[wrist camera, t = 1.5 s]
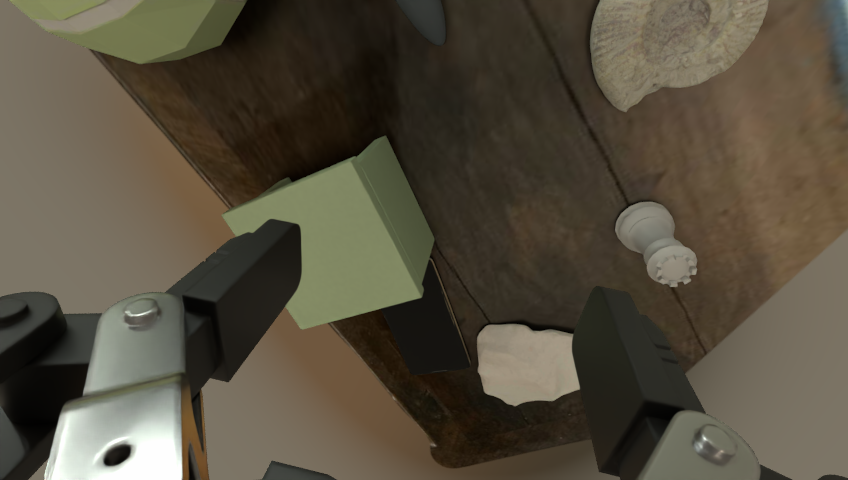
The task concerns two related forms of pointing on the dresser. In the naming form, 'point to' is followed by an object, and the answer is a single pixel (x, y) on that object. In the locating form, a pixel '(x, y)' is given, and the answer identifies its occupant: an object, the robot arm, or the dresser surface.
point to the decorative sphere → (137, 25)
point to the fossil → (667, 43)
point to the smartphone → (428, 329)
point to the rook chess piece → (656, 242)
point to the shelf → (348, 235)
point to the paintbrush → (426, 18)
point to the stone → (525, 363)
